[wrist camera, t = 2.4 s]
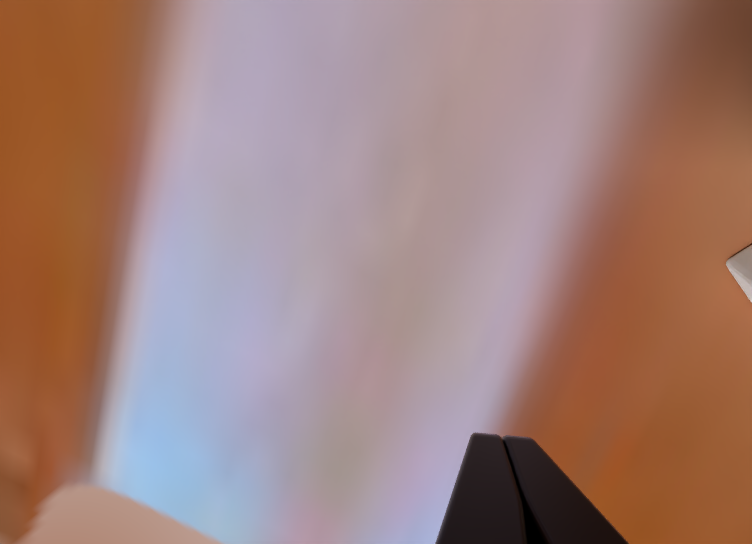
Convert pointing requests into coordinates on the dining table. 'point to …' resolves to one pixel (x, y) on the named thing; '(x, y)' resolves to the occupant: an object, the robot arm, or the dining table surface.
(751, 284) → the coffee box
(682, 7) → the dining table surface
